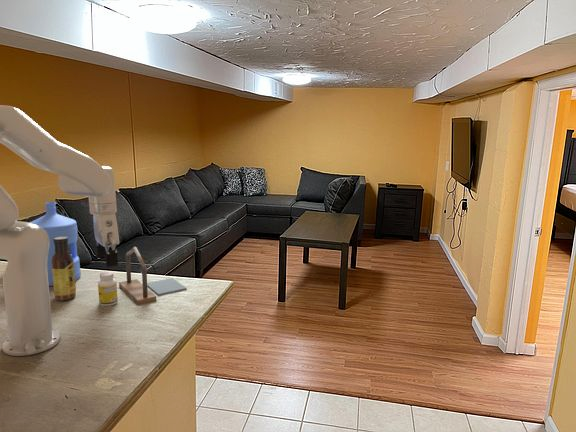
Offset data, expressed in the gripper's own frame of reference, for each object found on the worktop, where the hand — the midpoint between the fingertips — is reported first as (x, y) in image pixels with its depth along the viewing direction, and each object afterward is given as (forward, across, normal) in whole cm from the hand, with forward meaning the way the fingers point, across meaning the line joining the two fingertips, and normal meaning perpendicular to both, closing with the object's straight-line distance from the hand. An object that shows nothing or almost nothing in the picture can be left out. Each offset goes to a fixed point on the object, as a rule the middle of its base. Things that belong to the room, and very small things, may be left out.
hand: (107, 261), depth 133 cm
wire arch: (+14, +2, -9) cm, 17 cm away
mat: (+14, +2, -19) cm, 24 cm away
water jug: (+14, +31, +10) cm, 36 cm away
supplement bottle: (+14, -1, +1) cm, 14 cm away
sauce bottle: (+14, +11, +11) cm, 21 cm away
